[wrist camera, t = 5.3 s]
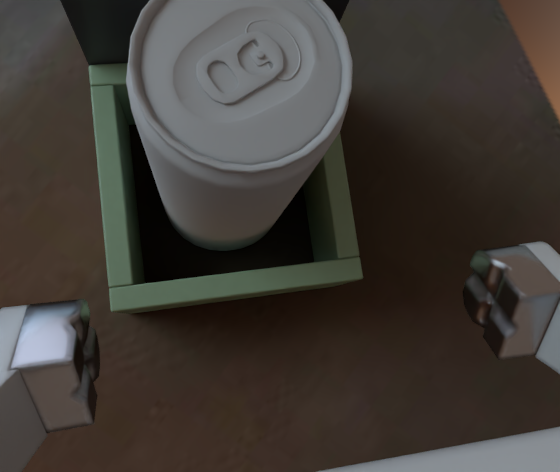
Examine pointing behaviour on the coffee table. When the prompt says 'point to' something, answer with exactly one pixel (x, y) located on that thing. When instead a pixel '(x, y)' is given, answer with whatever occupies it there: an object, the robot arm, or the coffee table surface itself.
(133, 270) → the stand
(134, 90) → the beverage can
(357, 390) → the coffee table surface
